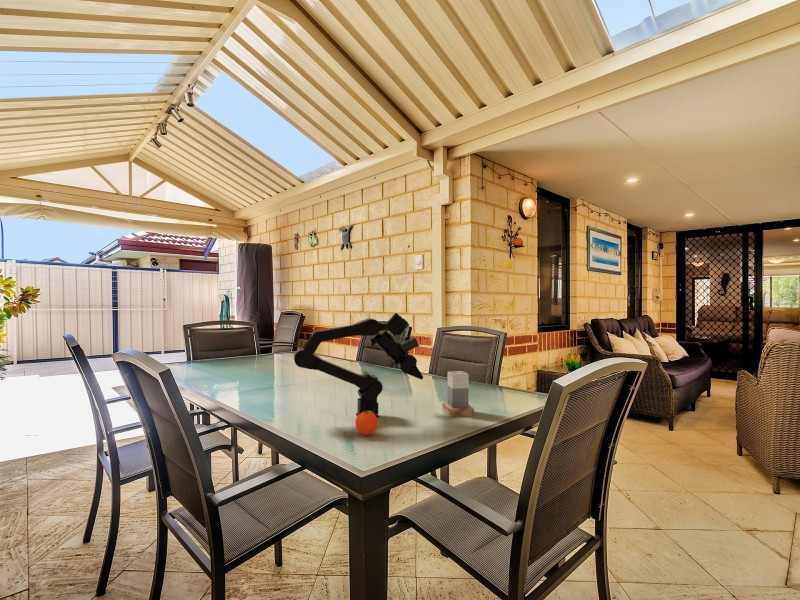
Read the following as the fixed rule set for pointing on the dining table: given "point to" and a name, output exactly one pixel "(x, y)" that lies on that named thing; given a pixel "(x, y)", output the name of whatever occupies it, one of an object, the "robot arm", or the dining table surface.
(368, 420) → the clementine
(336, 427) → the dining table surface
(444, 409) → the stand
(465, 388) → the block
